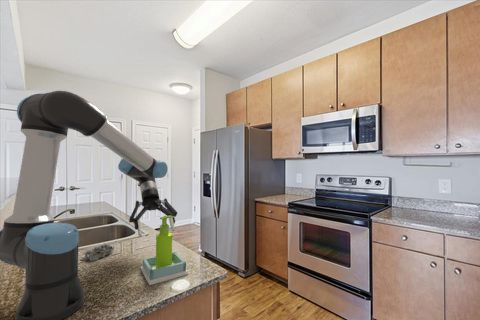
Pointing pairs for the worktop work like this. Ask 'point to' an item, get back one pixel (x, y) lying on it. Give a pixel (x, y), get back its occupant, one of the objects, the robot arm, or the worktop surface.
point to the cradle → (163, 269)
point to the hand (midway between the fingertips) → (157, 232)
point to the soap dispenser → (164, 244)
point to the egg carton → (98, 252)
